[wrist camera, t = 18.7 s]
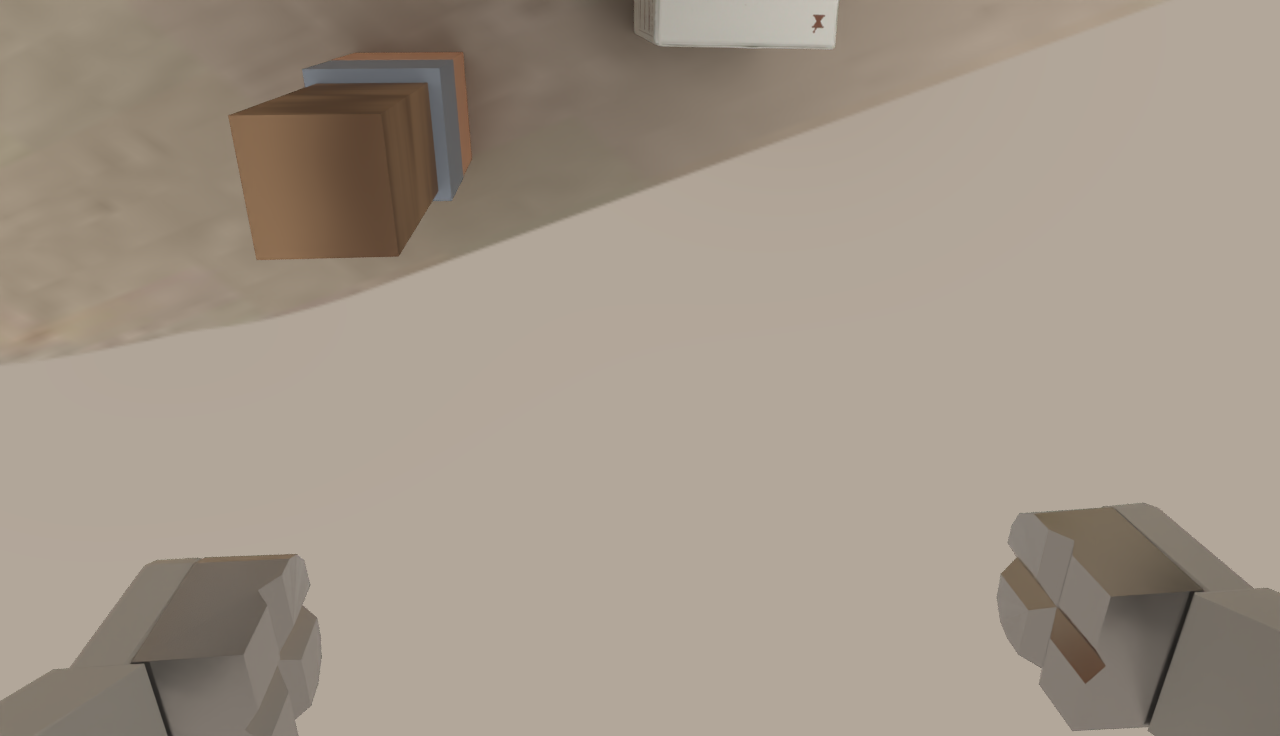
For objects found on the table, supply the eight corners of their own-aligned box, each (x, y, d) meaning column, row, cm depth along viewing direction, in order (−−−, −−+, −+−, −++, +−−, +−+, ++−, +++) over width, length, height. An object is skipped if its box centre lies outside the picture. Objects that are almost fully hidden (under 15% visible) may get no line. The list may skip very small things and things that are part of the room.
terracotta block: (369, 160, 45) (348, 179, 40) (355, 52, 43) (331, 59, 38) (471, 159, 45) (462, 177, 41) (463, 52, 43) (452, 59, 39)
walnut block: (332, 192, 36) (256, 260, 27) (316, 83, 34) (228, 115, 25) (438, 190, 36) (398, 256, 27) (427, 82, 34) (380, 113, 25)
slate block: (349, 179, 40) (323, 203, 36) (332, 60, 38) (302, 69, 34) (463, 177, 41) (451, 200, 36) (453, 59, 39) (439, 68, 34)
